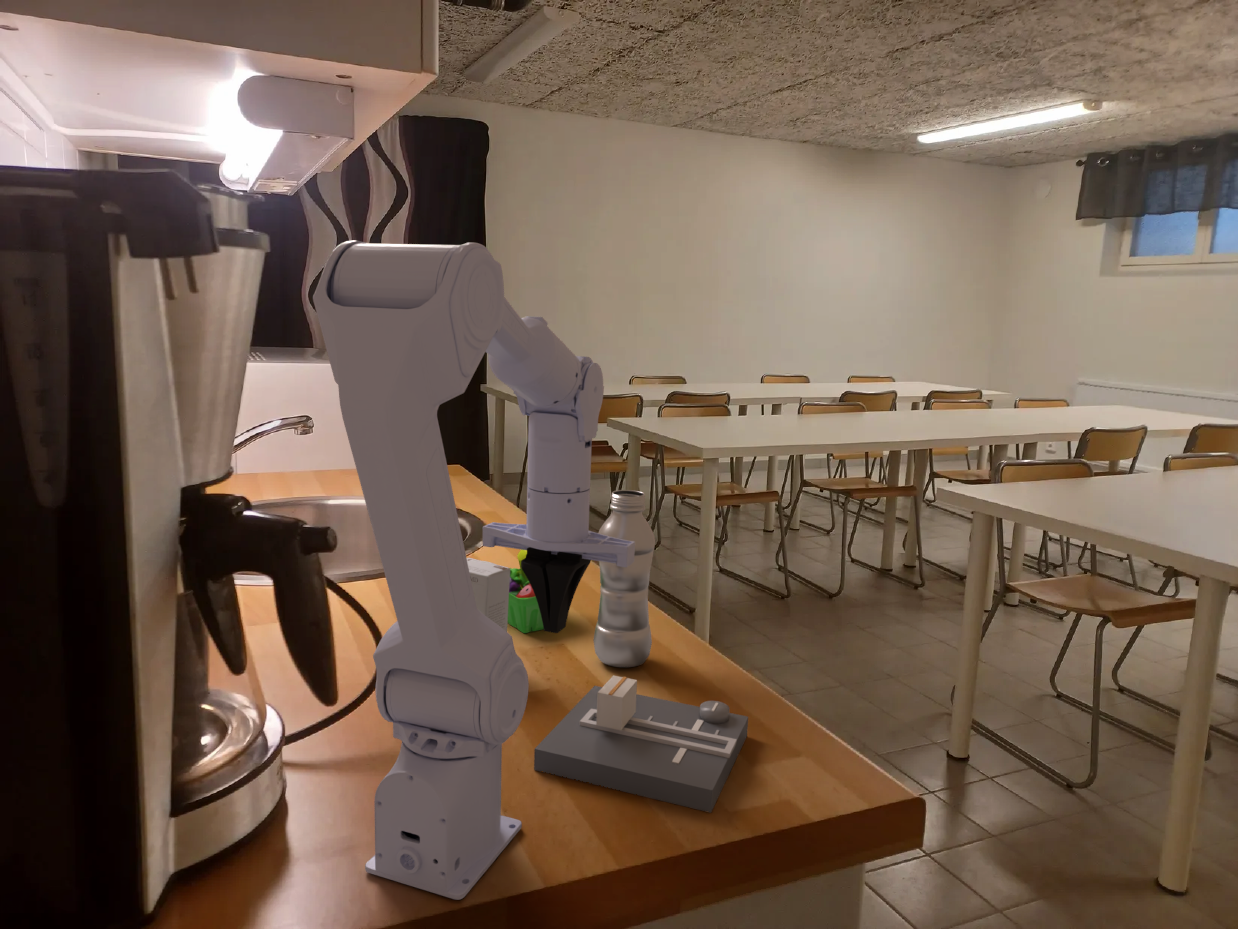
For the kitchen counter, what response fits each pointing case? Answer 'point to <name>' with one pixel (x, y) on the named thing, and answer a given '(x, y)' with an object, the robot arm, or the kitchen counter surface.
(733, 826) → the kitchen counter surface
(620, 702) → the fader cap
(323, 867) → the kitchen counter surface
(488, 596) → the skincare box
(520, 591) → the fruit basket
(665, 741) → the console
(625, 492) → the plastic bottle
